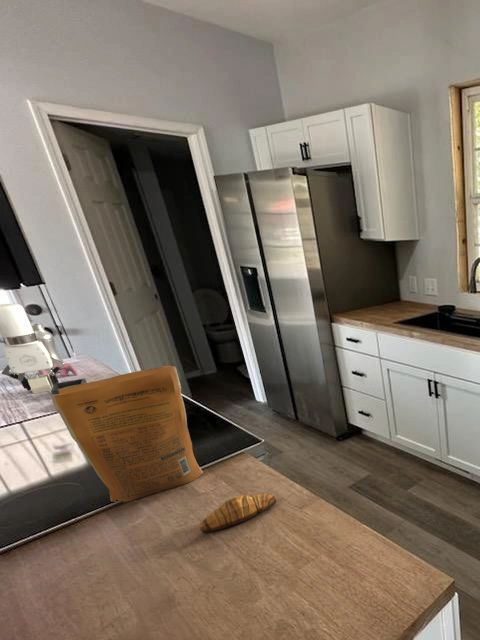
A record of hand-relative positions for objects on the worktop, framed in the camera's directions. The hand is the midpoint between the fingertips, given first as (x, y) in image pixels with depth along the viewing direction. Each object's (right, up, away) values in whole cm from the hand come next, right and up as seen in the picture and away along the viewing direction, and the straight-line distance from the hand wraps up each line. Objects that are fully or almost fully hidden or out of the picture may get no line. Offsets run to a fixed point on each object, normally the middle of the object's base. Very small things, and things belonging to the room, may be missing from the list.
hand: (42, 386), depth 150 cm
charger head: (0, -1, 0) cm, 1 cm away
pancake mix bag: (+92, -23, -57) cm, 111 cm away
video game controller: (-8, +3, +13) cm, 15 cm away
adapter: (+13, -2, -2) cm, 13 cm away
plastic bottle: (-16, +6, +19) cm, 25 cm away
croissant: (+117, -26, -67) cm, 137 cm away
